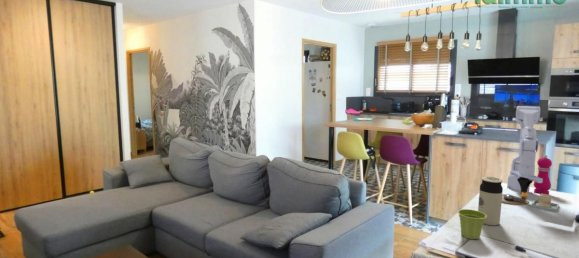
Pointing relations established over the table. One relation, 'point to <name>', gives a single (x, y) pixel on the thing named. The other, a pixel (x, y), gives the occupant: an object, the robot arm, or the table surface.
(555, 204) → the tray
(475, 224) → the plant pot
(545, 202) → the stop block
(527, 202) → the crank base
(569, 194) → the table surface
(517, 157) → the robot arm
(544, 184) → the pepper mill
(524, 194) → the crank
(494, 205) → the travel mug
